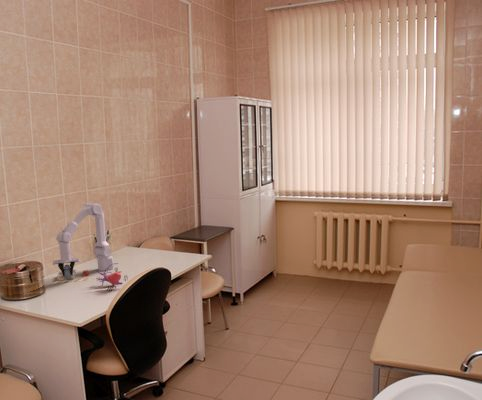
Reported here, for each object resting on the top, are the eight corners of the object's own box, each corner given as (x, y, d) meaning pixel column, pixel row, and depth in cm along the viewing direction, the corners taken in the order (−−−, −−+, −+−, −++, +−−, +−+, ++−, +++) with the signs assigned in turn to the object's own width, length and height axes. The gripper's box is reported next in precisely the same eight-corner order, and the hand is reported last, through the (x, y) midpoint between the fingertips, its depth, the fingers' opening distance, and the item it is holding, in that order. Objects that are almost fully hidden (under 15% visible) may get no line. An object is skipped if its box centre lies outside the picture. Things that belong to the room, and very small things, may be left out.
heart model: (117, 294, 259) (89, 286, 264) (125, 292, 268) (98, 285, 273) (123, 266, 260) (95, 259, 265) (131, 266, 268) (104, 258, 273)
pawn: (71, 275, 281) (70, 263, 280) (71, 277, 278) (69, 265, 276) (65, 276, 280) (63, 264, 279) (64, 278, 277) (62, 265, 276)
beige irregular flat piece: (95, 273, 295) (94, 267, 294) (92, 282, 278) (92, 275, 277) (57, 278, 290) (57, 271, 290) (53, 287, 274) (52, 279, 273)
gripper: (50, 255, 271) (53, 278, 274) (77, 252, 274) (80, 275, 276) (53, 252, 278) (55, 274, 280) (79, 249, 281) (81, 272, 283)
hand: (67, 275), depth 279 cm, fingers closed on pawn, 4 cm apart
